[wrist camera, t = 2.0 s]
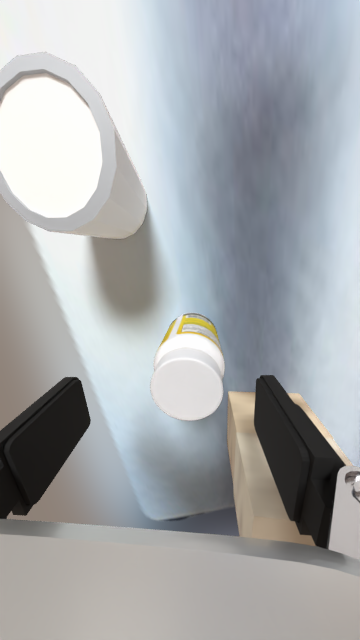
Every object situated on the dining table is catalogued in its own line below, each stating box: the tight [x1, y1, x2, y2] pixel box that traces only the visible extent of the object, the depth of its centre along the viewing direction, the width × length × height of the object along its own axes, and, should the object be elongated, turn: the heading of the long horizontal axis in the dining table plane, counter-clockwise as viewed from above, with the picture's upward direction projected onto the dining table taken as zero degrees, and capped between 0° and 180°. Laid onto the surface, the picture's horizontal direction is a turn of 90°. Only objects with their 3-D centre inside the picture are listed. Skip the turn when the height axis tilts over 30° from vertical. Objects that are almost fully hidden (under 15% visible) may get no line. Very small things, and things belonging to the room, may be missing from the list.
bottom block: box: [227, 392, 333, 485], centre depth 17 cm, size 7×7×5 cm
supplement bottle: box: [150, 313, 225, 421], centre depth 13 cm, size 5×5×8 cm
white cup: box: [0, 52, 147, 239], centre depth 12 cm, size 7×7×7 cm
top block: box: [233, 432, 353, 546], centre depth 12 cm, size 7×7×5 cm
